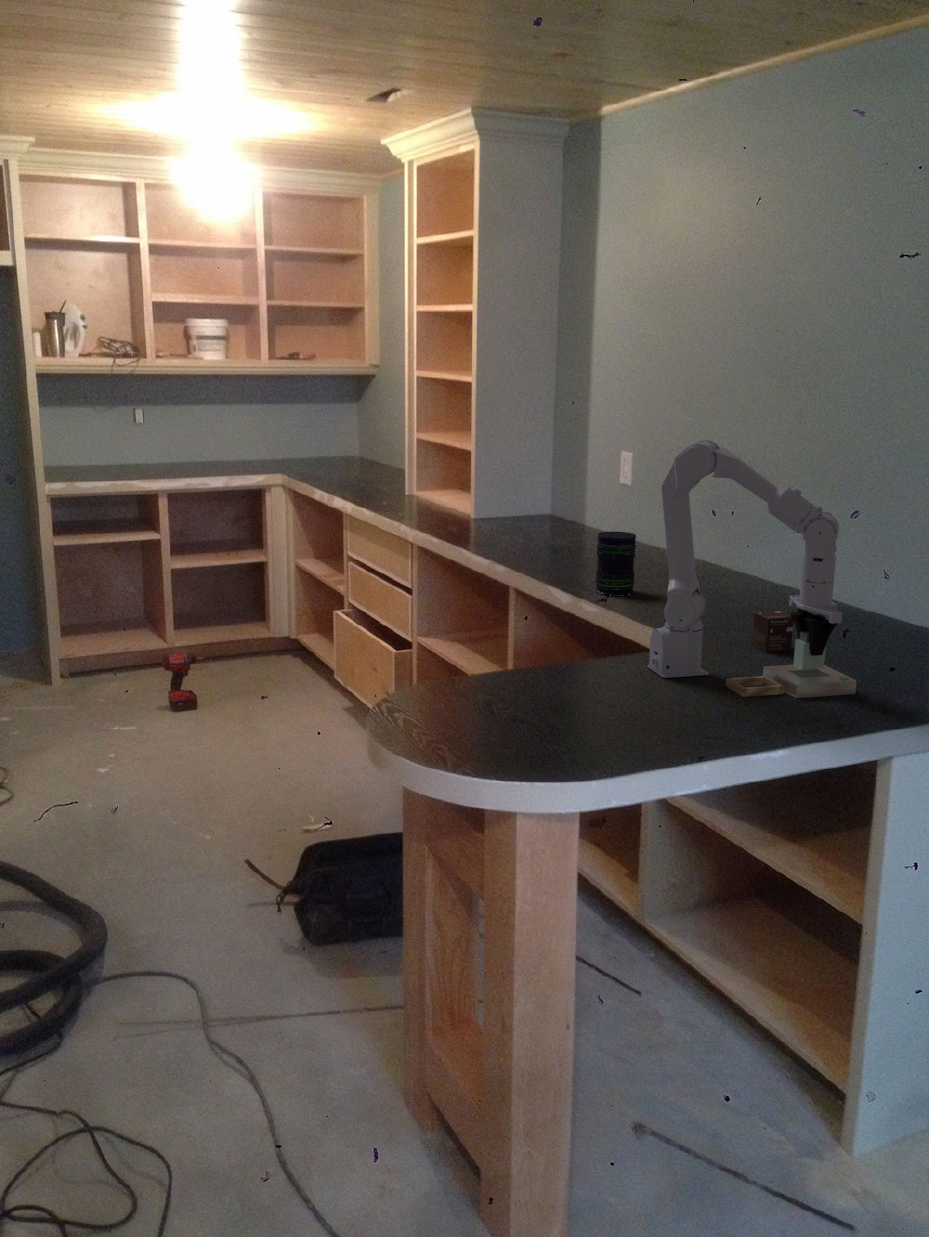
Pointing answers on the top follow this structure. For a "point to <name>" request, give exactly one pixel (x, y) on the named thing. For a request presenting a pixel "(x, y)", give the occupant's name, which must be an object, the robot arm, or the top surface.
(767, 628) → the box
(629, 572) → the storage jar
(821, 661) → the plug
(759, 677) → the tan square frame
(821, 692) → the port
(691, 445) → the robot arm
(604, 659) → the top surface
